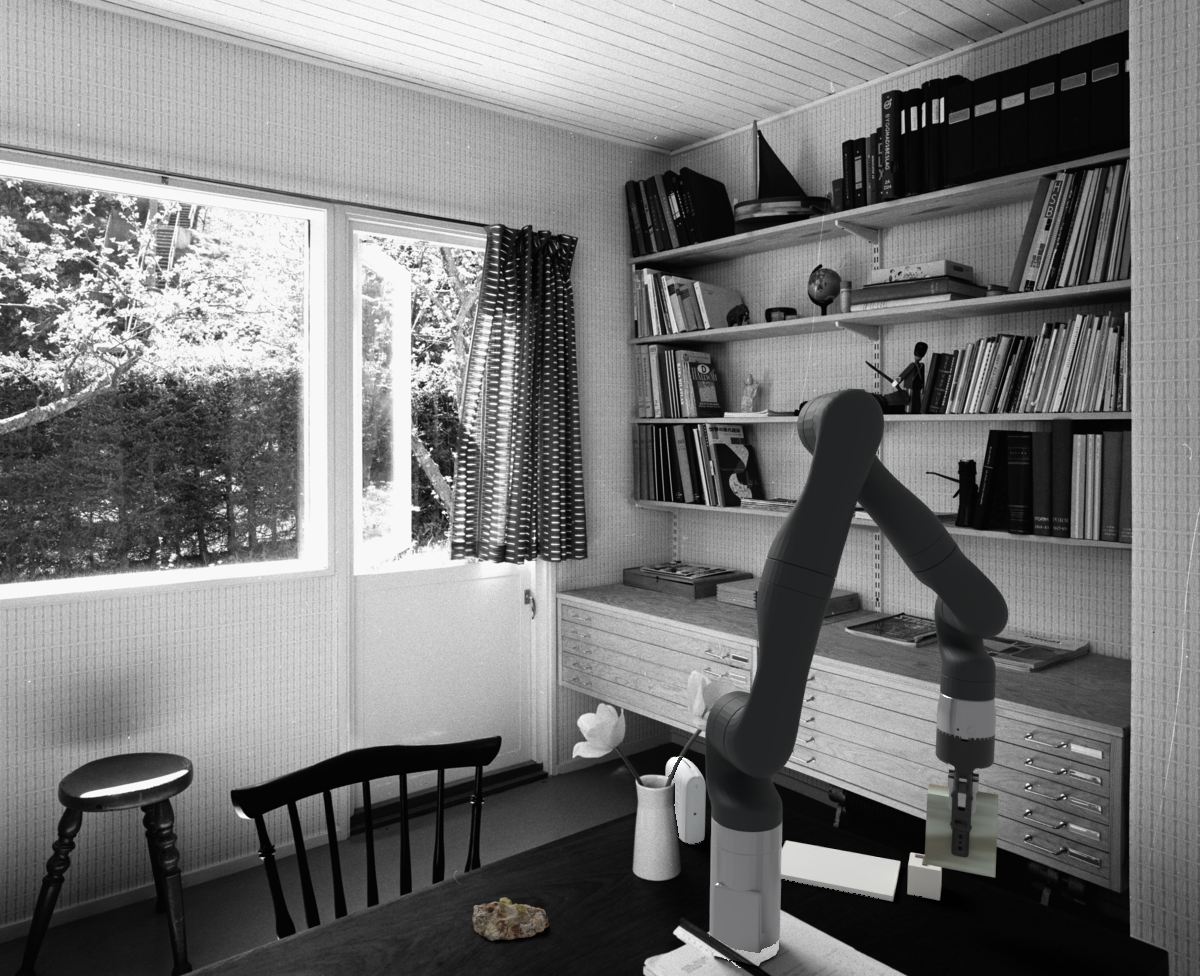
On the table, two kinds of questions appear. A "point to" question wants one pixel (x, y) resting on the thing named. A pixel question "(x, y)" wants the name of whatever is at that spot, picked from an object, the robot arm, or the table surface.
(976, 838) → the pale green rectangular block
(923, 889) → the letter cube
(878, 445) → the robot arm
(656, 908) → the table surface
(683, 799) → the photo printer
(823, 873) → the mat
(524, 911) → the mineral rock
